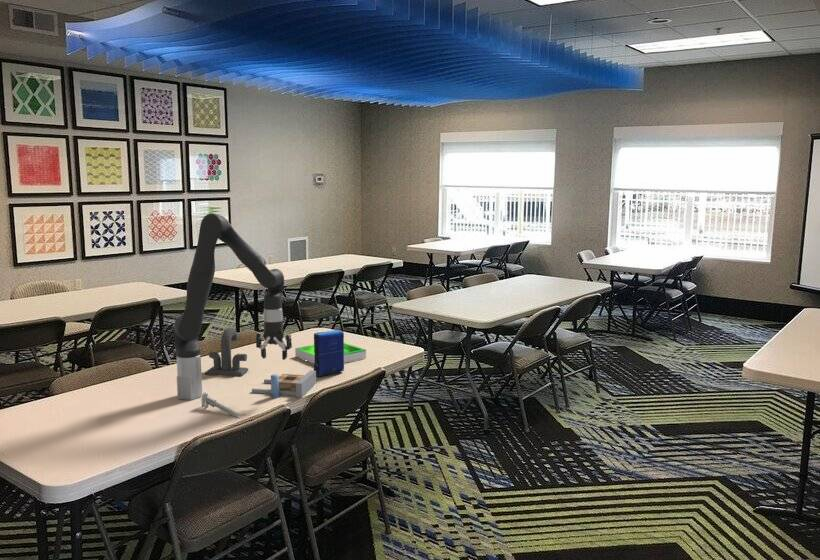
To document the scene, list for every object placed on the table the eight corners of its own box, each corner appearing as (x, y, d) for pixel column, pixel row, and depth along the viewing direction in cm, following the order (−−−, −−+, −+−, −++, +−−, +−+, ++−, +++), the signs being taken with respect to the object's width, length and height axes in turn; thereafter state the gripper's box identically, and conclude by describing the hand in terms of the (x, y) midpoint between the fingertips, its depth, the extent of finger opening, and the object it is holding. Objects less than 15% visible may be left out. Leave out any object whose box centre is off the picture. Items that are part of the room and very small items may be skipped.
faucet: (254, 366, 304) (253, 325, 301) (243, 376, 288) (241, 333, 285) (217, 365, 306) (216, 323, 303) (204, 375, 290) (202, 331, 287)
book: (317, 378, 287) (316, 334, 284) (311, 375, 291) (311, 332, 288) (345, 372, 295) (344, 330, 292) (339, 369, 299) (339, 328, 296)
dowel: (277, 398, 260) (277, 376, 259) (270, 397, 261) (269, 376, 259) (280, 395, 263) (279, 374, 262) (273, 395, 264) (272, 374, 262)
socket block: (298, 393, 265) (298, 383, 264) (273, 392, 267) (272, 381, 266) (307, 385, 276) (307, 375, 275) (282, 383, 278) (282, 373, 277)
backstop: (301, 397, 261) (301, 383, 260) (249, 394, 265) (249, 380, 264) (316, 384, 279) (315, 370, 278) (266, 380, 282) (266, 367, 282)
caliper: (201, 407, 250) (200, 392, 249) (203, 406, 251) (203, 391, 250) (238, 418, 239) (237, 402, 238) (240, 417, 240) (240, 401, 239)
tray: (295, 358, 320) (295, 348, 320) (336, 349, 337) (336, 340, 336) (324, 369, 302) (324, 358, 301) (366, 359, 319) (366, 349, 318)
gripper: (252, 320, 255) (253, 360, 257) (286, 322, 252) (287, 362, 255) (260, 316, 262) (261, 355, 264) (293, 318, 259) (294, 357, 262)
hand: (274, 358), depth 260 cm, fingers open, 8 cm apart
